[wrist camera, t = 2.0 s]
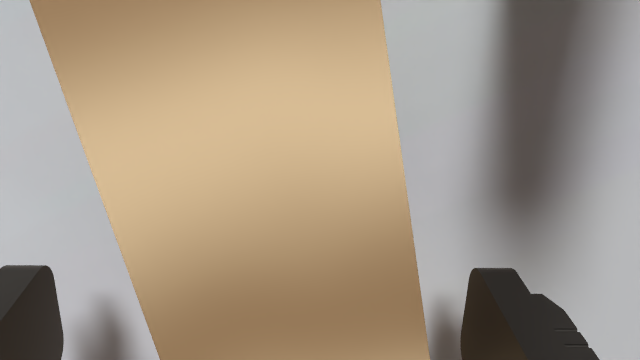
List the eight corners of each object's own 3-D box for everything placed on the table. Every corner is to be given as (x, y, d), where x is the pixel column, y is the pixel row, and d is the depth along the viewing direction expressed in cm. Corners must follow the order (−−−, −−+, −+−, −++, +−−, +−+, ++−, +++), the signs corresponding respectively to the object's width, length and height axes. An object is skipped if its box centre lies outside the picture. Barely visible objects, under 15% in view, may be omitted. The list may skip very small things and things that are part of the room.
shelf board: (100, -60, 12) (9, -55, 8) (344, -110, 12) (362, -127, 8) (255, 446, 17) (241, 584, 14) (424, 419, 17) (456, 554, 13)
